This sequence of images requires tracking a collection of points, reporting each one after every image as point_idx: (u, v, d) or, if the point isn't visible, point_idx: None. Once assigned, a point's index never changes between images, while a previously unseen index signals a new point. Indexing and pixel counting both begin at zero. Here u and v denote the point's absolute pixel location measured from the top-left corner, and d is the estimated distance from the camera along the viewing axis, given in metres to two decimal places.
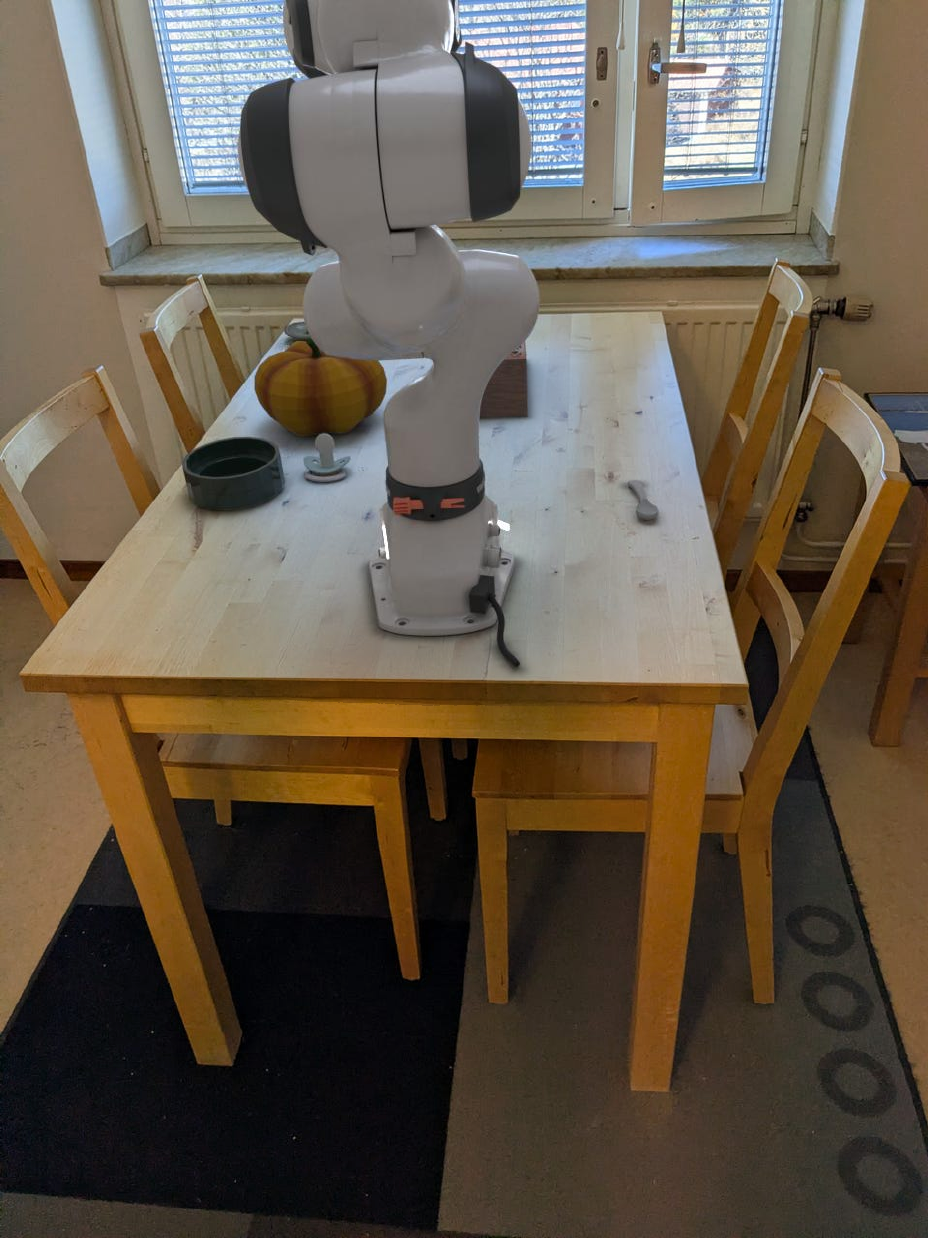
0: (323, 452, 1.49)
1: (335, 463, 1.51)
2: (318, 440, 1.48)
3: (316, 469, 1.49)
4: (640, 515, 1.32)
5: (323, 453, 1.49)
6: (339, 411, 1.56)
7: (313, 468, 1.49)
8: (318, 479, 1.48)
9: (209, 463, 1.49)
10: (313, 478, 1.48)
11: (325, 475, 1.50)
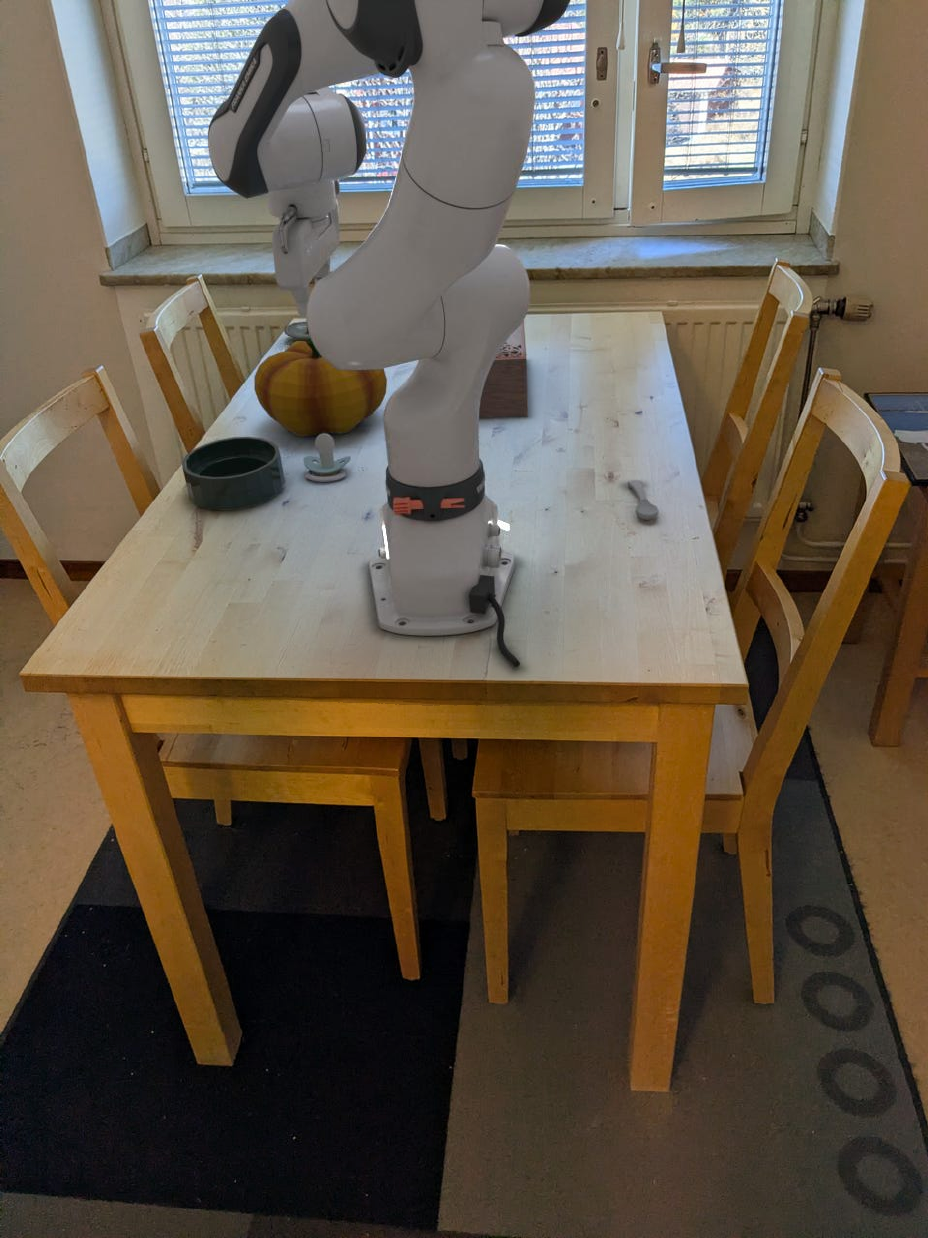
0: (323, 452, 1.49)
1: (335, 463, 1.51)
2: (318, 440, 1.48)
3: (316, 469, 1.49)
4: (640, 515, 1.32)
5: (323, 453, 1.49)
6: (339, 411, 1.56)
7: (313, 468, 1.49)
8: (318, 479, 1.48)
9: (209, 463, 1.49)
10: (313, 478, 1.48)
11: (325, 475, 1.50)
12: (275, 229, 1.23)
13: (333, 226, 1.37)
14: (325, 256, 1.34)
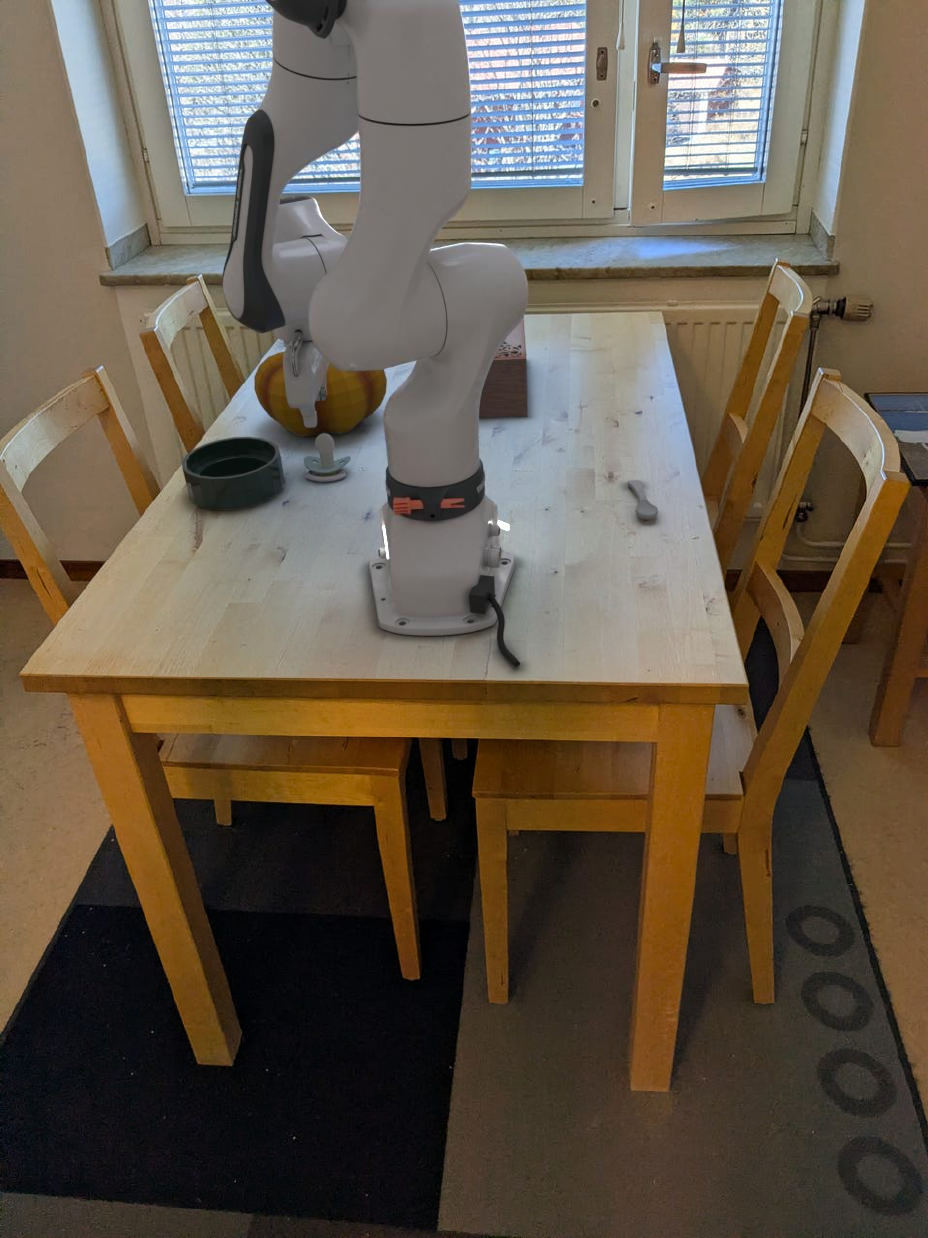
0: (323, 452, 1.49)
1: (335, 463, 1.51)
2: (318, 440, 1.48)
3: (316, 469, 1.49)
4: (640, 515, 1.32)
5: (323, 453, 1.49)
6: (339, 411, 1.56)
7: (313, 468, 1.49)
8: (318, 479, 1.48)
9: (209, 463, 1.49)
10: (313, 478, 1.48)
11: (325, 475, 1.50)
12: (285, 354, 1.31)
13: None
14: (325, 370, 1.43)
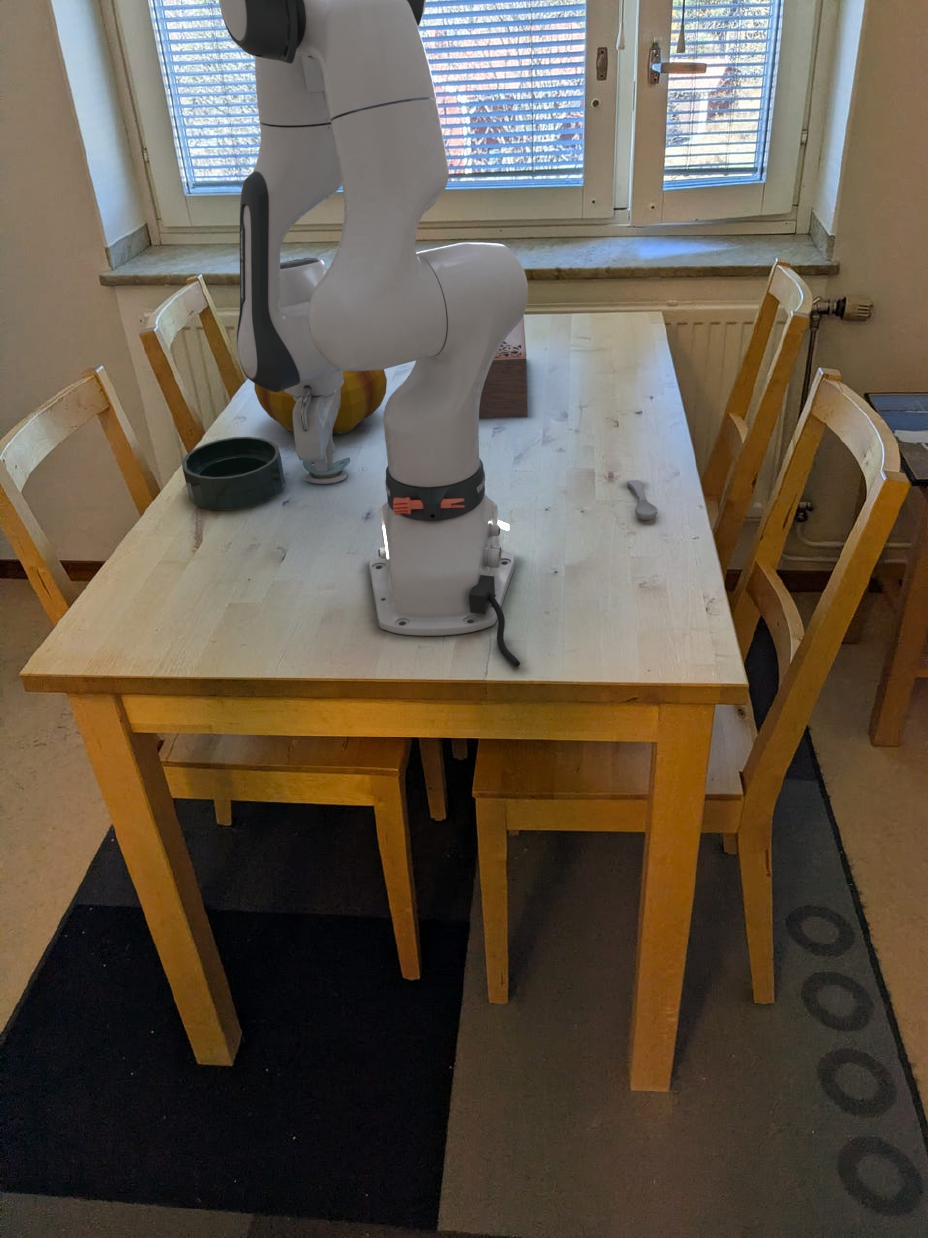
0: None
1: (334, 465, 1.51)
2: None
3: (316, 471, 1.49)
4: (639, 515, 1.32)
5: None
6: (339, 411, 1.56)
7: (313, 471, 1.49)
8: (319, 481, 1.47)
9: (209, 463, 1.49)
10: (314, 481, 1.47)
11: (325, 477, 1.49)
12: (295, 410, 1.36)
13: (336, 392, 1.51)
14: (333, 422, 1.47)
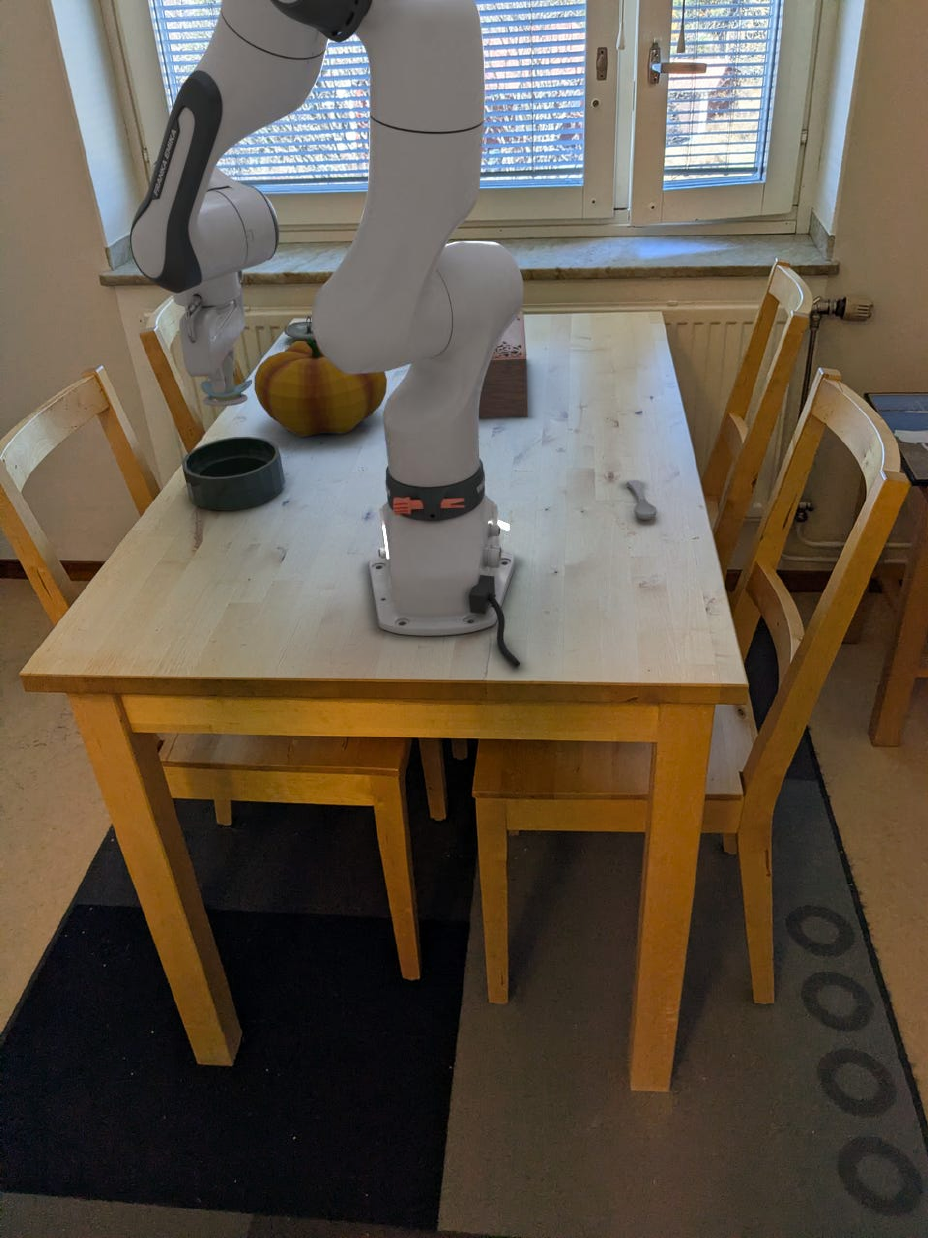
0: None
1: (236, 388, 1.40)
2: None
3: (215, 394, 1.38)
4: (638, 515, 1.32)
5: None
6: (339, 411, 1.56)
7: (212, 393, 1.38)
8: (217, 404, 1.37)
9: (209, 463, 1.49)
10: (212, 403, 1.37)
11: (225, 400, 1.39)
12: (181, 319, 1.25)
13: (238, 309, 1.40)
14: (232, 339, 1.37)
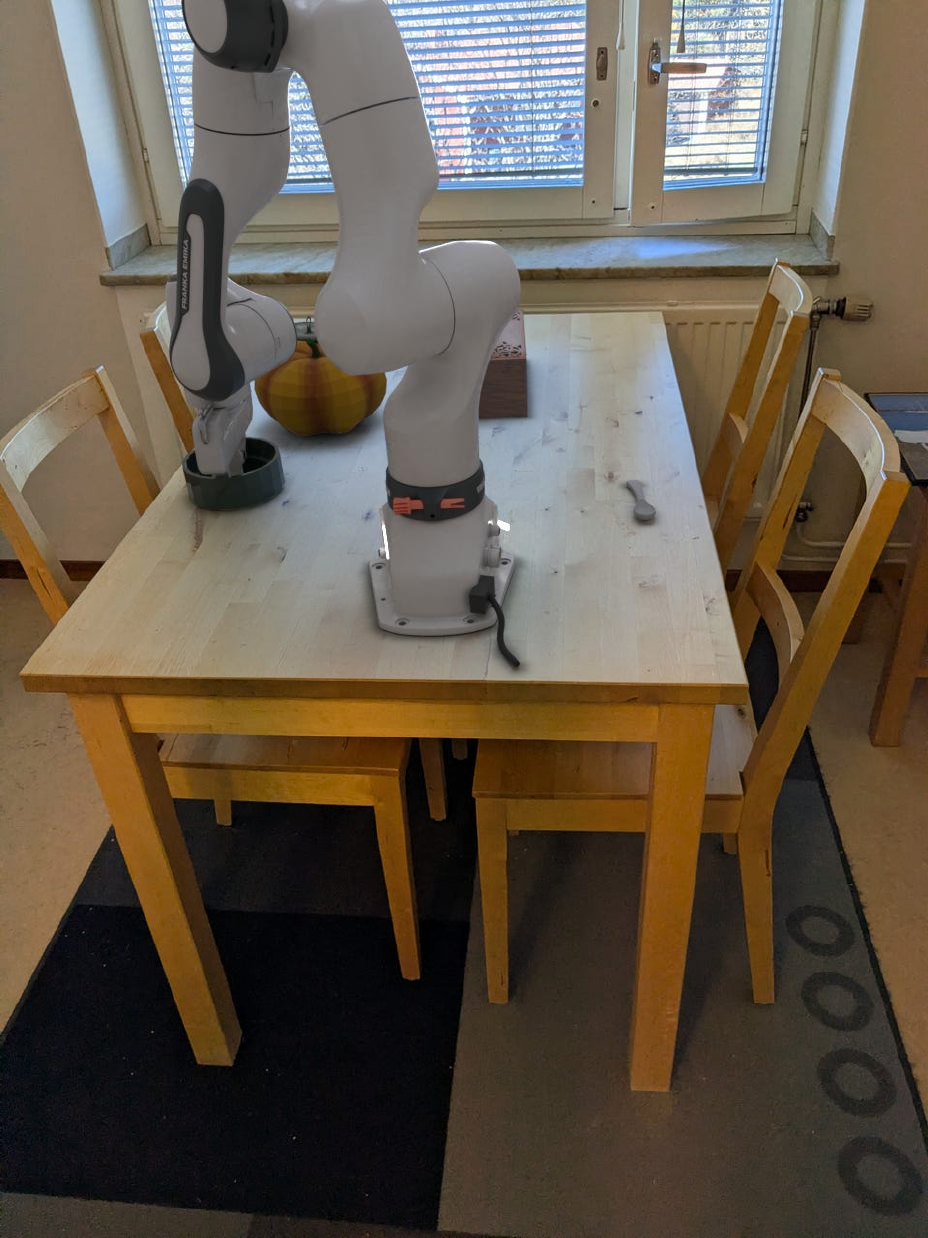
0: (232, 466, 1.45)
1: None
2: None
3: None
4: (637, 515, 1.32)
5: (232, 467, 1.45)
6: (339, 411, 1.56)
7: None
8: None
9: None
10: None
11: None
12: (194, 423, 1.33)
13: (247, 403, 1.48)
14: (241, 434, 1.44)
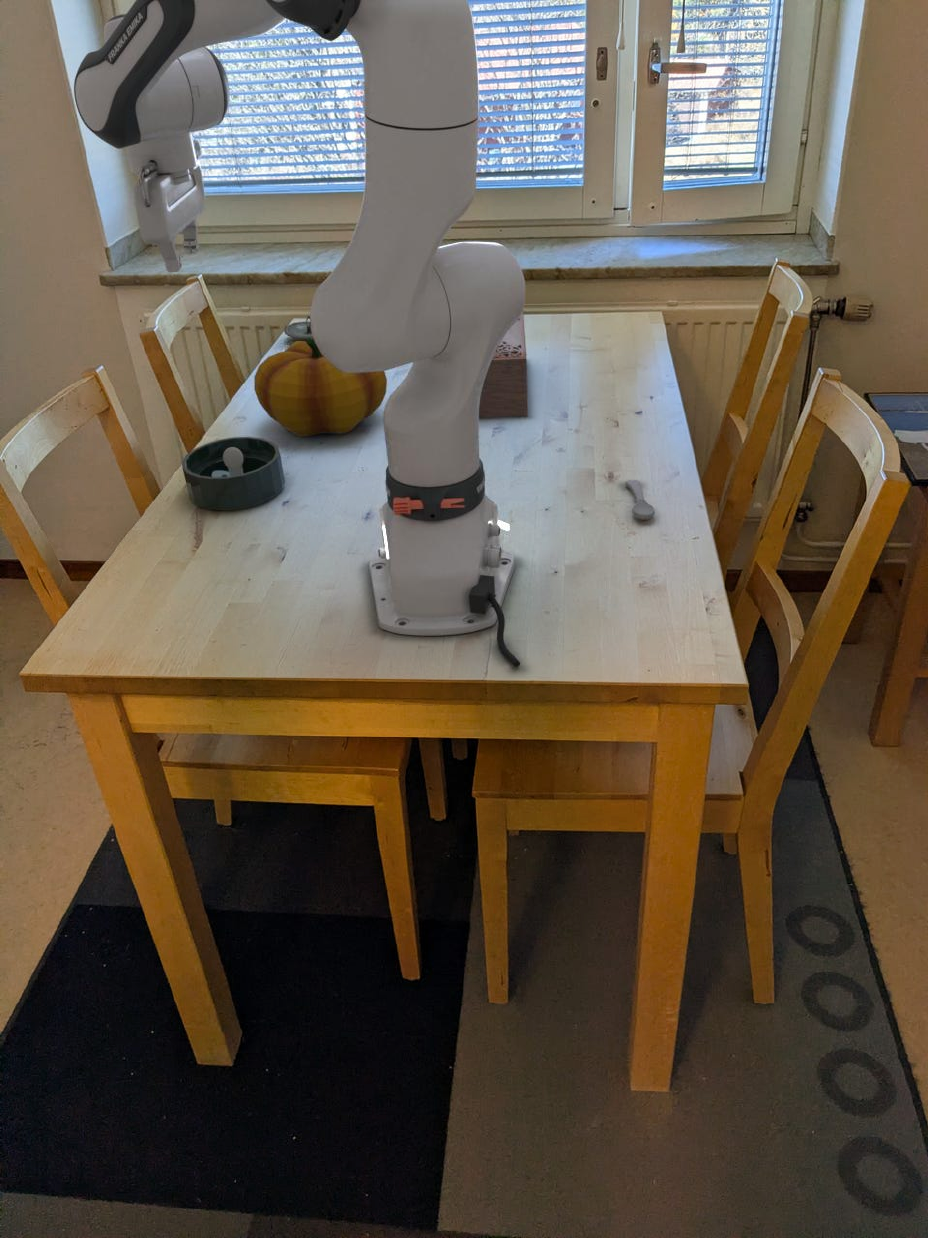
0: (232, 466, 1.45)
1: None
2: (226, 454, 1.45)
3: None
4: (636, 515, 1.32)
5: (232, 467, 1.45)
6: (339, 411, 1.56)
7: None
8: None
9: (209, 463, 1.49)
10: None
11: None
12: (136, 183, 1.25)
13: (198, 188, 1.40)
14: (191, 215, 1.37)
